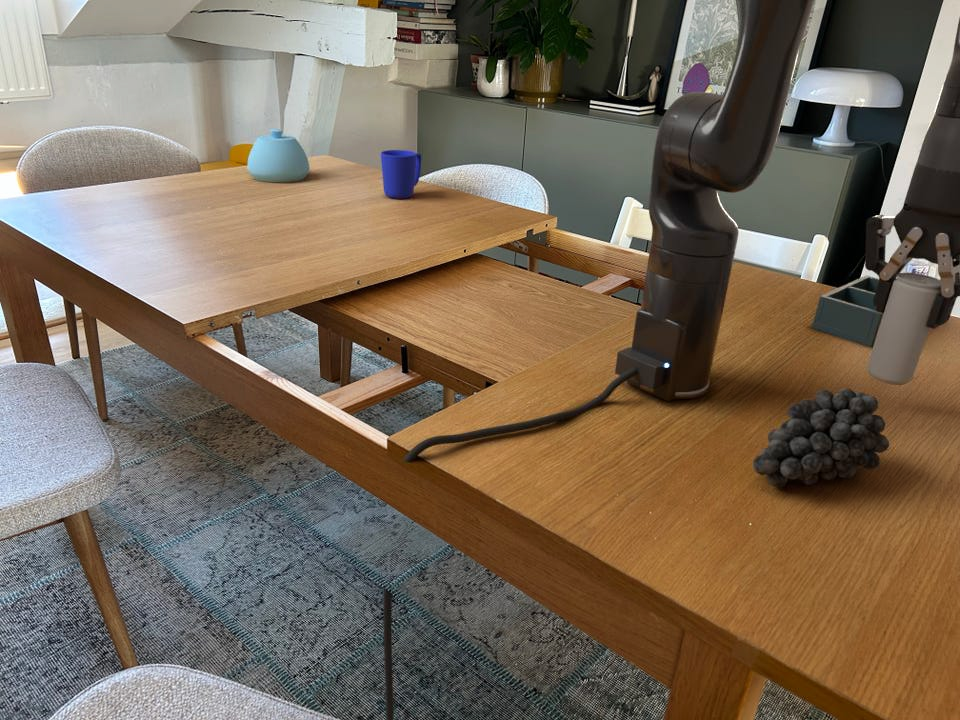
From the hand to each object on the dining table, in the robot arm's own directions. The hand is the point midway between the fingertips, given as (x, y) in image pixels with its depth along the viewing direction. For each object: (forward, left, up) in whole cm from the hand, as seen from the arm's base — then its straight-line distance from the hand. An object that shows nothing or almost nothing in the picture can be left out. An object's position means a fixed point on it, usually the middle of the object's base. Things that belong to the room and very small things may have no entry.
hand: (907, 318), depth 82 cm
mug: (+18, +116, -11) cm, 118 cm away
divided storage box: (+26, +12, -11) cm, 30 cm away
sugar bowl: (+3, +148, -11) cm, 149 cm away
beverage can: (0, 0, -8) cm, 8 cm away
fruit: (-21, -1, -11) cm, 24 cm away
